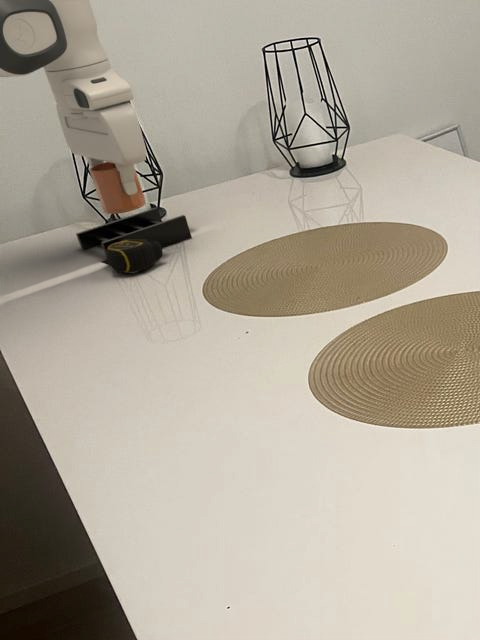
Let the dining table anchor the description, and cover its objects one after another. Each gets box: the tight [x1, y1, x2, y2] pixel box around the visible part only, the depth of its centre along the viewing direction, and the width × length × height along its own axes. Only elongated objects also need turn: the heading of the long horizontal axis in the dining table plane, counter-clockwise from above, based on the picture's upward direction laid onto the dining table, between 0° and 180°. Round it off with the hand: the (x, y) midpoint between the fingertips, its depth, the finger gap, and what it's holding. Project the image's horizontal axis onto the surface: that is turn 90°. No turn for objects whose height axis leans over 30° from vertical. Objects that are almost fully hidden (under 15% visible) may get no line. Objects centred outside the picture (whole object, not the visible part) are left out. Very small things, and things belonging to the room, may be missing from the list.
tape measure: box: [106, 239, 164, 274], centre depth 140 cm, size 7×7×4 cm
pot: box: [89, 161, 147, 215], centre depth 144 cm, size 6×6×6 cm
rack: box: [75, 207, 193, 266], centre depth 149 cm, size 14×10×3 cm
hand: (119, 190), depth 145 cm, fingers closed on pot, 6 cm apart
